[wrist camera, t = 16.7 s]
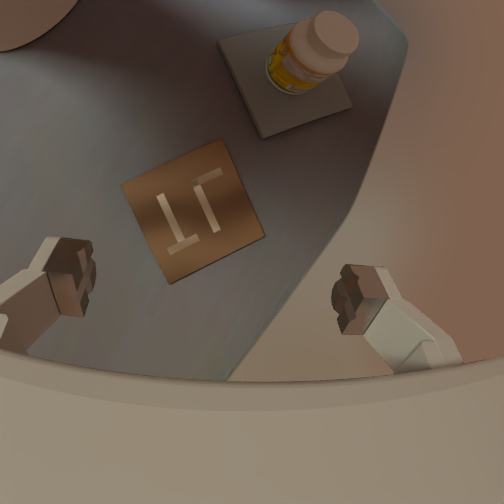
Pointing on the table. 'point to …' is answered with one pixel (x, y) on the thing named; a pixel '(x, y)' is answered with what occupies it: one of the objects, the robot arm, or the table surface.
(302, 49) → the supplement bottle
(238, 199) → the tile
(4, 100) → the table surface
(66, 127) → the table surface
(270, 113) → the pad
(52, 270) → the robot arm
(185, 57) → the table surface
